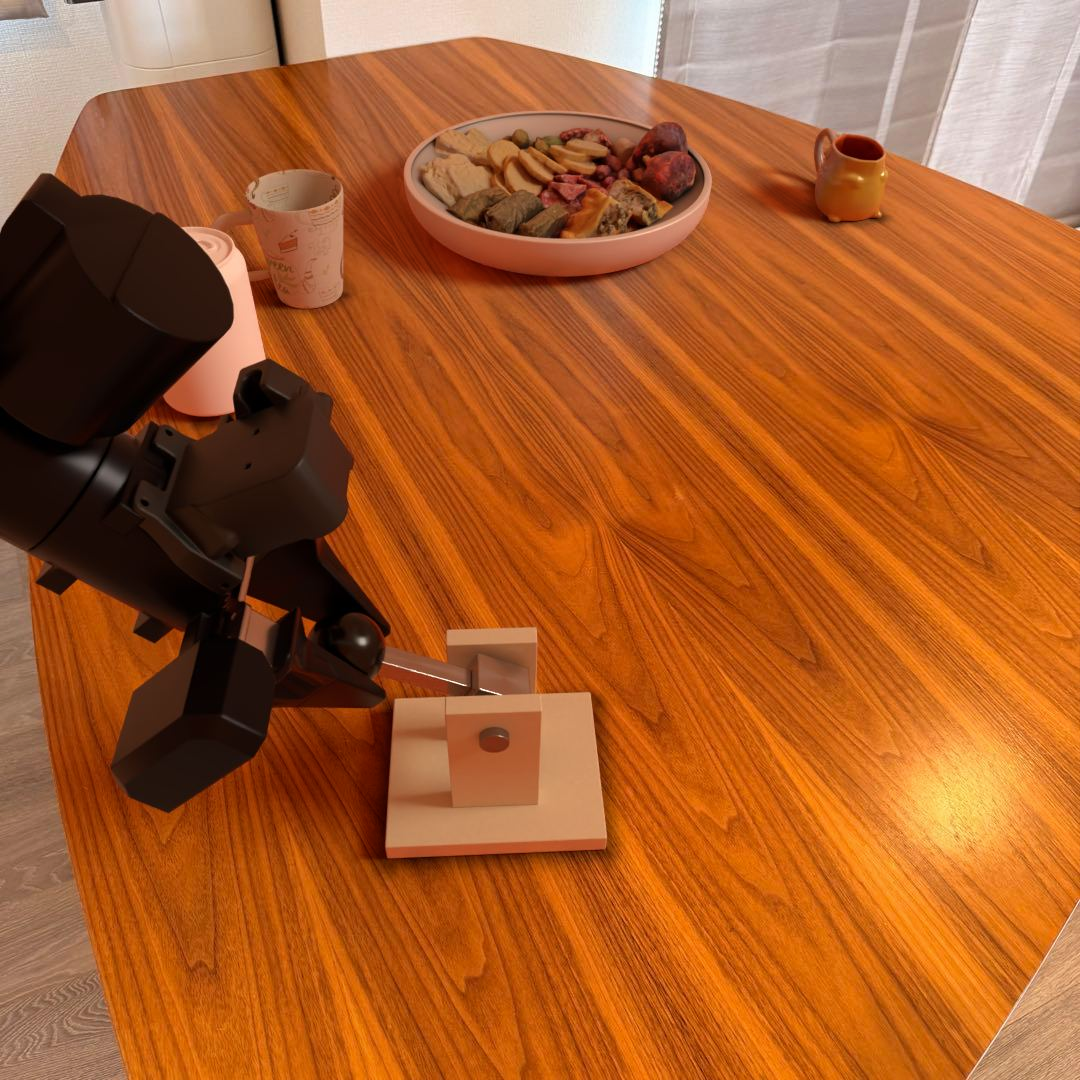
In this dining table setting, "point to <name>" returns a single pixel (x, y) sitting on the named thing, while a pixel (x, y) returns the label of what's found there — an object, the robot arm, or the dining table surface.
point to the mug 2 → (849, 176)
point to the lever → (413, 660)
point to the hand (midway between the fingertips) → (382, 667)
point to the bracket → (494, 764)
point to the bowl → (558, 191)
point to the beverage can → (240, 347)
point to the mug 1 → (296, 234)
